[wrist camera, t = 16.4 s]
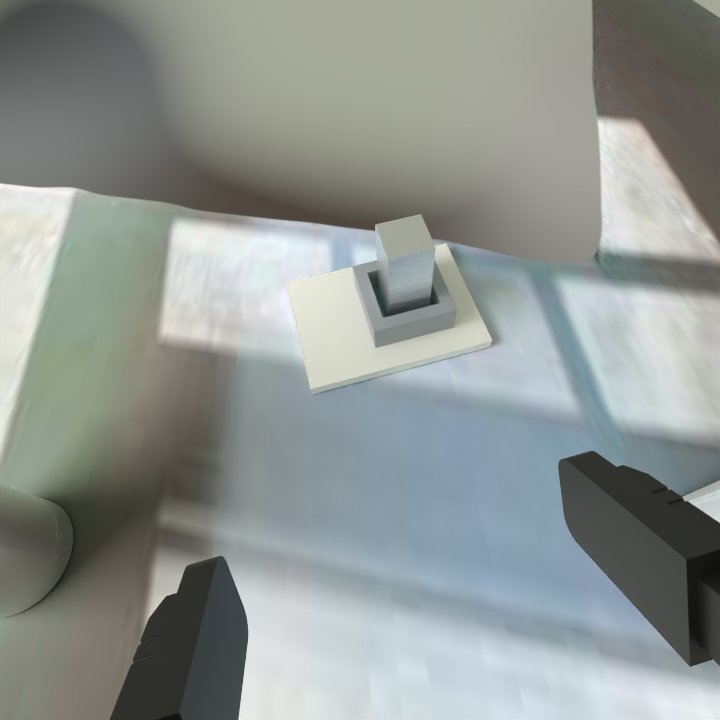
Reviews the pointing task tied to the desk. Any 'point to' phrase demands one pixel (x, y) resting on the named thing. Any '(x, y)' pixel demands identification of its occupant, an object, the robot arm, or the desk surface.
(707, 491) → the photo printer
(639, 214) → the desk surface
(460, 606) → the desk surface
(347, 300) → the docking board
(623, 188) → the desk surface
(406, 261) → the grainy grey brick
